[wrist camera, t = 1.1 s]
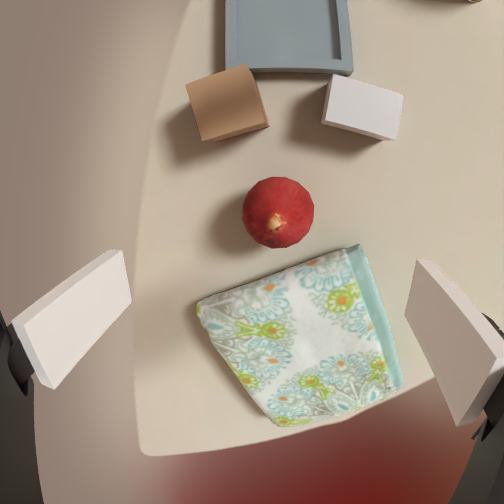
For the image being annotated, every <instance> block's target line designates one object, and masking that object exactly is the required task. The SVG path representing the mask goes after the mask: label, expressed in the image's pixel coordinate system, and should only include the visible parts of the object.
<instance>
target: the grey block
mask: <svg viewBox="0 0 504 504" xmlns="http://www.w3.org/2000/svg"><path fill="white" fill-rule="evenodd" d="M403 97H404V95H401V94H398V93H396V92H393V91H390V90H387V89H384V88H381V87H378V86H375V85H371V84H368V83H365V82H362V81H358V80H355V79H351V78H347V77H343V76H340V75H336V74H333V76H332V77H331V79H330V81H329V83H328V86H327V92H326V97H325V103H324V108H323V114H322V119H321V124H324V125H328V126H333V127H337V128H340V129H344V130H348V131H352V132H355V133H359V134H363V135H366V136H369V137H373V138H376V139H379V140H396V139H397V133H398V128H399V122H400V117H401V111H402V104H403Z"/></svg>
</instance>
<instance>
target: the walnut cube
mask: <svg viewBox="0 0 504 504" xmlns="http://www.w3.org/2000/svg"><path fill="white" fill-rule="evenodd" d="M186 89H187V92H188V96H189V99H190V102H191V106H192V109H193V113H194V116H195V120H196V123H197V126H198V130H199V133H200V136H201V140H202V141H213V142H218V141H221V140H224V139H227V138H231V137H234V136H237V135H241V134H244V133H248V132H251V131H255V130H258V129H262V128H266V127H269V123H268V119H267V116H266V113H265V110H264V106H263V103H262V100H261V97H260V93H259V90H258V87H257V84H256V81H255V78H254V76H253V74H252V73H251V71H250V69H249V68H248V66H247V65H246V64H244V65H241V66H237V67H234V68H231V69H228V70H225V71H222V72H219V73H216V74H213V75H210V76H207V77H204V78H202V79H199V80H196V81H194V82H191V83H189V84H186Z"/></svg>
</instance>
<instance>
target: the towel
mask: <svg viewBox="0 0 504 504" xmlns="http://www.w3.org/2000/svg"><path fill="white" fill-rule="evenodd" d="M196 313H197V317H198V318H199V320H200V324H201V326H202V327H203V328H204V329H206V330H207V332H208V335H209V338H210V341H211V343H212V345H213V346H214V347H215V348H216V350H217V351H218V353H219V354H220V355H221V356H222V357H223V359H224V360H225V362H226V363H227V365H228V366H229V368H230V369H231V370H232V372H233V373H234V374H235V376H236V377H237V378H238V380H239V381H240V383H241V384H242V386H243V387H244V388H245V390H246V391H247V393H248V394H249V395H250V396H251V398H252V399H253V400H254V401H255V403H256V404H257V405H258V406H259V407H260V408H261V410H262V411H263V412H264V414H265V415H266V416H267V417H268V418H269V419H270V421H271V422H272V423H274V424H276V425H277V426H279V427H292V426H298V425H303V424H308V423H312V422H316V421H319V420H323V419H327V418H331V417H335V416H339V415H342V414H345V413H348V412H351V411H354V410H357V409H359V408H362V407H365V406H367V405H370V404H373V403H376V402H378V401H381V400H384V399H387V398H389V397H391V396H392V395H393V394H395V392H396V390H398V389H400V388H401V387H402V386H403V376H402V372H401V368H400V364H399V360H398V356H397V353H396V349H395V344H394V339H393V335H392V331H391V328H390V324H389V321H388V318H387V315H386V312H385V309H384V307H383V304H382V301H381V298H380V295H379V292H378V288H377V286H376V283H375V281H374V277H373V274H372V271H371V270H370V266H369V264H368V260H367V257H366V255H365V253H364V252H363V250H362V245H361V244H357V245H354V246H352V247H349V248H346V249H340V250H337V251H334V252H331V253H328V254H325V255H323V256H320V257H317V258H315V259H312V260H310V261H307V262H304V263H301V264H299V265H296V266H294V267H291V268H288V269H285V270H283V271H280V272H278V273H275V274H272V275H270V276H267V277H265V278H262V279H259V280H257V281H254V282H251V283H248V284H245V285H242V286H239V287H236V288H233V289H231V290H227V291H224V292H221V293H218V294H215V295H212V296H210V297H207V298H205V299H203V300H201V301H199V302H198V303H197V305H196Z"/></svg>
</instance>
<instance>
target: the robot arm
mask: <svg viewBox="0 0 504 504" xmlns="http://www.w3.org/2000/svg"><path fill="white" fill-rule="evenodd" d="M131 303H132V299H131V294H130V289H129V285H128V280H127V274H126V270H125V264H124V258H123V252H122V250H108V251H107V252H105V253H104V254H102V255H101V256H99V257H98V258H96V259H95V260H93V261H92V262H90V263H89V264H87V265H86V266H84V267H83V268H81V269H80V270H79V271H77V272H76V273H74V274H73V275H71V276H70V277H69V278H67V279H66V280H64V281H63V282H62V283H60V284H59V285H58V286H56V287H55V288H53V289H52V290H51V291H50V292H48V293H47V294H45V295H44V296H43V297H41V298H40V299H39V300H37V301H36V302H35V303H33V304H32V305H31V306H30V307H28V308H27V309H26V310H24V311H23V312H22V313H21V314H19V315H18V316H17V317H16V318H14V319H13V320H12V323H11V324H10V325H9V326H8V327H7V326H6V324H5V322H4V319H3V317H2V314H1V311H0V504H44V502H43V498H42V492H41V487H40V481H39V474H38V466H37V457H36V447H35V433H34V383H33V380H32V378H31V375H32V374H33V373H34V372H35V373H36V375H37V377H38V378H39V380H40V382H41V384H43V385H45V386H47V387H50V388H52V389H54V390H55V389H56V387H57V386H58V385H59V384H60V383H61V381H62V380H63V379H64V378H65V377H66V376H67V374H68V373H69V372H70V371H71V370H72V368H73V367H74V366H75V365H76V364H77V363H78V361H79V360H80V359H81V358H82V357H83V356H84V355H85V353H86V352H87V351H88V350H89V349H90V347H92V345H93V344H94V343H95V342H96V341H97V340H98V339H99V338H100V336H101V335H102V334H103V333H104V332H105V331H106V330H107V328H108V327H109V326H110V325H111V324H112V323H113V322H114V321H115V320H116V319H117V318H118V317H119V315H120V314H121V313H122V312H123V311H124V310H125V309H126V308H127V307H128V306H129V305H130V304H131ZM404 315H405V317H406V319H407V321H408V323H409V325H410V326H411V328H412V330H413V332H414V334H415V336H416V338H417V340H418V342H419V344H420V346H421V348H422V350H423V352H424V354H425V356H426V358H427V360H428V362H429V364H430V366H431V368H432V371H433V373H434V375H435V377H436V379H437V381H438V384H439V386H440V388H441V390H442V392H443V395H444V397H445V400H446V402H447V404H448V407H449V409H450V411H451V414H452V416H453V419H454V422H455V424H456V426H461V425H464V424H468V423H472V422H474V421H475V420H476V419H477V418H478V416H479V415H480V413H481V412H482V410H483V409H484V411H485V413H486V415H487V417H486V419H485V420H484V421H483V423H482V424H481V426H480V427H479V428H478V430H477V431H476V432H475V433H474V435H473V437H472V438H471V439H473V440H474V438H475V437H476V436H477V435H478V434H479V435H478V438H477V441H476V443H475V446H474V448H473V451H472V454H471V456H470V459H469V461H468V464H467V466H466V468H465V470H464V473H463V475H462V477H461V479H460V481H459V483H458V485H457V488H456V489H455V492H454V493H453V496H452V497H451V499H450V501H449V503H448V504H504V333H503V332H502V331H501V330H499V327H498V326H497V325H496V323H495V322H494V321H493V320H492V319H491V318H489V317H488V316H486V315H485V314H483V313H481V312H480V311H479V310H478V308H477V307H476V306H475V305H474V304H473V303H472V302H471V301H470V300H469V298H468V297H467V296H466V295H465V294H464V293H463V292H462V291H461V290H460V289H459V288H458V287H457V285H456V284H455V283H454V282H453V281H452V280H451V279H450V278H449V277H448V276H447V275H446V274H445V273H444V272H443V271H442V270H441V269H440V268H439V267H438V266H437V265H436V264H435V263H434V262H433V261H432V260H420V259H416V265H415V270H414V275H413V280H412V285H411V289H410V294H409V298H408V302H407V306H406V310H405V314H404Z"/></svg>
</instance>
